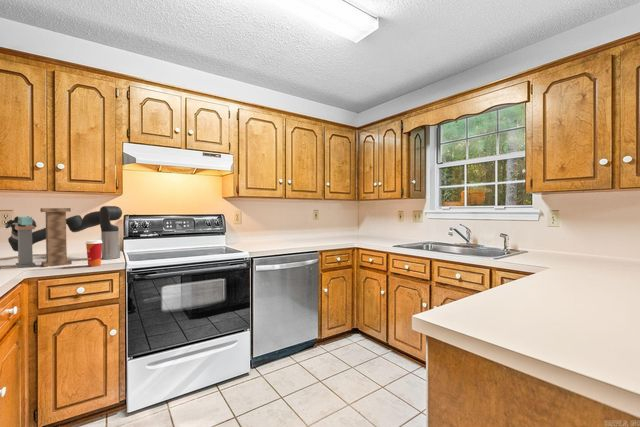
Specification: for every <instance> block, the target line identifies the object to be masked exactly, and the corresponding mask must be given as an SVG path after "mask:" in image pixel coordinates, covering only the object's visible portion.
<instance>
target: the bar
mask: <svg viewBox="0 0 640 427" xmlns="http://www.w3.org/2000/svg"><path fill="white" fill-rule="evenodd" d="M27 216H28V215H27ZM27 216H26V215H25V216H24V215H23V216H18V223H17V224H20V225H32V219H33V217H32V216H29V217H27Z"/></svg>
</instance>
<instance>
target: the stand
mask: <svg viewBox="0 0 640 427" xmlns="http://www.w3.org/2000/svg"><path fill="white" fill-rule="evenodd" d="M39 210H40V213H44V214H45V228H46V239H45V240H46V241H45V250H46V251H45V252H46V253H45V254H46V255H45V256H46V257H45V258H46V260H45V261H44V262H41V266H42V268H47V267H48V266H50V267H56V266H57V267H59V266H65V265H72V260H70V259H68V257H67V255H68V252H67V250H68V249H67V248H68V246H67V224H66V219H67V213H69V212H71V210H72V209H71V207H69V208H68V207H67V208H66V207H57V208H55V207H52V208H51V207H50V208H49V207H45V208H44V207H41V208H40V209H39ZM48 268H49V267H48Z"/></svg>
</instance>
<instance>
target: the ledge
mask: <svg viewBox="0 0 640 427" xmlns="http://www.w3.org/2000/svg"><path fill="white" fill-rule="evenodd" d="M15 229H16V230H18V252H17V255H18V256H17V259H18V261H17V262H15V266H16V267H17V268H18V269H19V268H21V267H22V268H30V266H31V267H36V266H37V264H36V263H35V262H34V261H33V260H34V259H33V256H34V254H33V245H32V232H33V230H35V229H36V227H35V226H15Z"/></svg>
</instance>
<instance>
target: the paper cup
mask: <svg viewBox="0 0 640 427" xmlns="http://www.w3.org/2000/svg"><path fill="white" fill-rule="evenodd" d="M102 243H103V242H102V240H101V239H95V240H94V239H93V240H92V239H91V240H90V239H89V240H86V242H85V246H86V247H85V248H86V256H87V258H86V259H87V266H88V267H91V268H94V267H101V264H102Z"/></svg>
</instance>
